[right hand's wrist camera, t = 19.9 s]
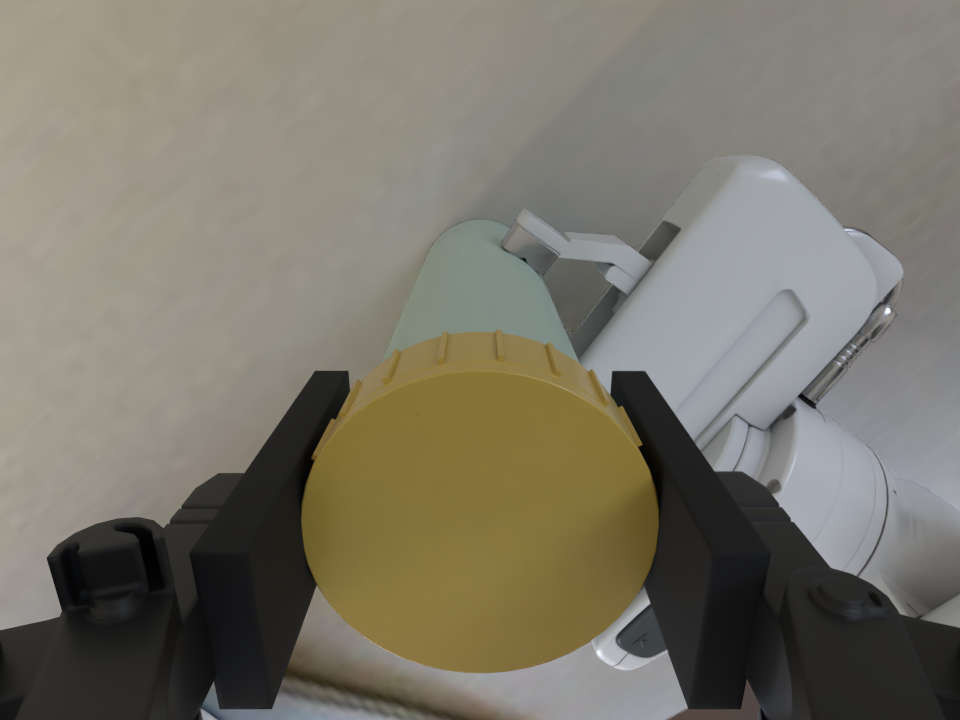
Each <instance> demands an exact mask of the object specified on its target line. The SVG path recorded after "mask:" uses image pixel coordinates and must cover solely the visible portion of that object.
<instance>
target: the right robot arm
mask: <svg viewBox="0 0 960 720" xmlns="http://www.w3.org/2000/svg"><path fill="white" fill-rule="evenodd" d="M349 392H350V386H349V373H348V371H315V372H314V374H313V375H312V376H311V378H310V379H309V381H308V382H307V384H306V385H305V387H304V388H303V389H302V391H301V392H300V394H299V395H298V397H297V398H296V400H295V401H294V402H293V404H292V405H291V407H290V408H289V410H288V411H287V413H286V414H285V415H284V417H283V418H282V420H281V421H280V423H279V424H278V426H277V427H276V428H275V430H274V431H273V433H272V434H271V436H270V437H269V439H268V440H267V441H266V443H265V444H264V446H263V447H262V449H261V450H260V452H259V453H258V454H257V456H256V457H255V459H254V460H253V462H252V463H251V465H250V466H249V467H248V469H247V470H246V472H245V473H218V474H217V475H215V476H214V477H212V478H211V479H209V480H208V481H206V482H205V483H203V484H201V485H200V486H198V487H197V488H195V490H194V491H193V492H192V493H191V495H190V496H189V497H188V498H187V500H186V501H185V502H184V503H183V505H182V508H181V509H179V510H178V511H177V512H176V513H175V515H174V516H173V517H172V518H171V520H170V524H167V525H166V526H165V527H164V528H163V527H161V526H160V525H159V524H158V523H156V522H155V521H154V520H149V519H144V518H139V517H135V518H119V519H114V520H110V521H106V522H102V523H98V524H95V525H93V526H90V527H88V528H86V529H83V530H81V531H79V532H76V533H75V534H73V535H72V536H70V537H69V538H67V539H66V540H64V541H63V542H61V543H60V544H58V545H57V546H56V547H55V549H54V550H53V551H52V552H51V553H50V554H49V556H48V557H47V561H48V564H49V567H50V571H51V574H52V578H53V581H54V585H55V588H56V591H57V595H58V598H59V602H60V605H61V609H62V613H61V615H60V617H57V618H54V619H50V620H46V621H42V622H37V623H32V624H28V625H23V626H19V627H14V628H9V629H5V630H0V720H203V718H202V713H201V706H202V704H203V702H204V700H205V698H206V696H207V694H208V692H209V689H210V687H211V685H212V683H213V681H214V683H215V688H216V693H217V698H218V703H219V708H220V709H272V707H273V704H274V702H275V699H276V696H277V693H278V690H279V688H280V685H281V682H282V679H283V677H284V674H285V671H286V668H287V666H288V663H289V660H290V657H291V655H292V652H293V649H294V646H295V643H296V641H297V638H298V635H299V632H300V630H301V627H302V624H303V621H304V619H305V616H306V613H307V610H308V607H309V605H310V602H311V599H312V596H313V594H314V591H315V588H316V585H317V584H316V582H315V580H314V578H313V575H312V573H311V570H310V568H309V566H308V563H307V559H306V555H305V551H304V543H303V535H302V526H301V504H302V499H303V494H304V489H305V485H306V482H307V479H308V476H309V474H310V471H311V469H312V466H313V464H314V462H315V460H313V459H311V458H312V456H313V453H314V451H315V450H316V448H317V446H318V444H319V442H320V440H321V438H322V436H323V434H324V432H325V430H326V428H327V427H328V425H329V423H330V421H331V419H334V420H336V418H337V416H338V414H339V412H340V410H341V408H342V406H343V404H344V402H345V400H346V398H347V396H348V394H349ZM610 396H611V397H612V398H613V400H614V401H615V403H616V405H617V407H618V408H619V407H621V406H623V408H624V410H625V412H626V414H627V416H628V418H629V419H630V421H631V423H632V425H633V427H634V429H635V431H636V433H637V435H638V437H639V439H640V441H641V443H642V445H641V446H639V447H638V448H639V450H640V452H641V454H642V456H643V458H644V460H645V462H646V464H647V466H648V468H649V470H650V473H651V476H652V479H653V482H654V485H655V488H656V493H657V499H658V504H659V530H658V538H657V547H656V553H655V556H654V560H653V563H652V566H651V569H650V571H649V573H648V576H647V578H646V580H645V582H644V587H645V590H646V593H647V595H648V598H649V601H650V604H651V606H652V609H653V612H654V615H655V617H656V620H657V623H658V626H659V629H660V631H661V634H662V637H663V640H664V642H665V645H666V648H667V651H668V653H669V656H670V659H671V662H672V665H673V667H674V670H675V673H676V676H677V678H678V681H679V684H680V687H681V689H682V692H683V695H684V698H685V700H686V703H687V706H688V709H741V705H742V700H743V695H744V690H745V685H746V680H747V679H748V681H749V683H750V686H751V687H752V690H753V692H754V694H755V696H756V698H757V700H758V702H759V704H760V708H759V713H758V718H757V720H960V628H959V627H954V626H949V625H945V624H940V623H936V622H931V621H926V620H922V619H917V618H913V617H909V616H905V615H902V614H899V612H898V610H897V608H896V607H895V606H894V604H893V603H892V601H891V600H890V599H889V597H888V596H887V595H886V594H884V593H883V592H882V591H880V590H879V589H878V588H876V587H875V586H874V585H873V584H871V583H869V582H867V581H865V580H863V579H861V578H859V577H857V576H855V575H853V574H851V573H847V572H844V571H840V570H837V569H833V568H831V567H830V566H829V565H828V564H827V562H826V561H825V560H824V559H823V557H822V556H821V555H820V554H819V552H818V551H817V550H816V549H815V548H814V546H813V545H812V544H811V543H810V541H809V540H808V539H807V538H806V536H805V535H804V534H803V533H802V531H801V530H800V529H799V528H798V526H797V525H796V524H795V523H794V522H791V518H790V517H789V515H788V514H787V513H786V512H785V510H784V509H783V508H782V507H779V503H778V502H777V500H776V499H775V498H774V497H773V495H772V494H771V493H770V492H769V490H768V489H767V488H766V487H765V486H764V485H762V484H761V483H759V482H758V481H756V480H755V479H753V478H752V477H750V476H748V475H747V474H745V473H744V472H742V471H714V470H713V468H712V467H711V465H710V464H709V463H708V461H707V460H706V458H705V457H704V455H703V454H702V452H701V451H700V450H699V448H698V447H697V445H696V444H695V442H694V441H693V439H692V438H691V437H690V435H689V434H688V432H687V431H686V429H685V428H684V426H683V425H682V424H681V422H680V421H679V419H678V418H677V416H676V415H675V413H674V412H673V411H672V409H671V408H670V406H669V405H668V403H667V402H666V400H665V399H664V398H663V396H662V395H661V393H660V392H659V390H658V389H657V387H656V386H655V385H654V383H653V382H652V380H651V379H650V377H649V376H648V374H647V373H646V371H612V379H611V391H610Z"/></svg>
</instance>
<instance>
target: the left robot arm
mask: <svg viewBox="0 0 960 720" xmlns="http://www.w3.org/2000/svg"><path fill="white" fill-rule="evenodd" d="M501 243H502V246H503V247H504V248H505V249H506V250H507V251H508V252H510V253H511V254H512V255H514V256H516V257H518V258H525V259H526V262H527V264H528V265H529V266H530V267H531V268H533V269H534V270H535V271H537V272H538V273H540V274H541V275H544V273H545V272H546V271H547V270H548V268H549V267H550V266H551V264H552V263H553V262H554V260H555V259H556V258H557V257H558V258H562V259H573V260H584V261H595V268H596V269H597V270H598V271H599V272H600V273H601V274H602V276H603V277H604V278H605V279H606V280H607V281H609V282H610V283H612V284H611V285H610V286H609V288H608V289H607V290H606V291H605V293H604V294H603V295H602V297H601V298H600V299H599V301H598V302H597V303H596V304H595V306H594V307H593V308H592V310H591V311H590V312H589V313H588V315H587V316H586V317H585V319H584V320H583V321H582V323H581V324H580V325H579V326H578V328H577V329H576V330H575V332H574V333H573V334H572V335H571V337H570V338H569V340H570V342H571V345H572V347H573V349H574V352H575V354H576V356H577V359H578V361H579V363H580V365H582V366H583V367H584V368H585V369H587V370H588V371H590V370H591V369H593V370H594V371H595V372H596V375H597V377H598V379H599V381H600V383H601V384H602V385H603V386H604V387H605V389H606V390H607V391H608V393H609V394H610V391H611V379H612V371H646V373H647V374H648V376H649V377H650V379H651V380H652V382H653V383H654V385H655V386H656V387H657V389H658V390H659V392H660V393H661V395H662V396H663V398H664V399H665V400H666V402H667V403H668V405H669V406H670V408H671V409H672V411H673V412H674V413H675V415H676V416H677V418H678V419H679V421H680V422H681V424H682V425H683V426H684V428H685V429H686V431H687V432H688V434H689V435H690V437H691V438H692V439H693V441H694V442H695V444H696V445H697V447H698V448H699V450H700V451H701V452H702V454H703V455H704V457H705V458H706V460H707V461H708V463H709V464H710V465H711V467H712V468H713V470H714V471H742V472H744V473H745V474H747V475H748V476H750V477H752V478H753V479H755V480H756V481H758V482H759V483H761V484H762V485H764V486H765V487H766V488H767V489H768V490H769V492H770V493H771V494H772V495H773V497H774V498H775V499H776V500H777V502H778V503H779V507H782V508H783V509H784V510H785V512H786V513H787V514H788V515H789V517H790V518H791V522H794V523H795V524H796V525H797V526H798V528H799V529H800V530H801V531H802V533H803V534H804V535H805V536H806V538H807V539H808V540H809V541H810V543H811V544H812V545H813V546H814V548H815V549H816V550H817V551H818V552H819V554H820V555H821V556H822V557H823V559H824V560H825V561H826V562H827V564H828V565H829V566H830V567H831V568H833V569H837V570H840V571H844V572H847V573H851V574H853V575H855V576H857V577H859V578H861V579H863V580H865V581H867V582H869V583H871V584H873V585H874V586H875V587H876V588H878V589H879V590H880V591H882V592H883V593H884V594H886V595H887V596H888V597H889V599H890V600H891V601H892V603H893V604H894V606H895V607H896V608H897V610H898V612H899V614H902V615H905V616H909V617H913V618H917V619H922V620H926V621H931V622H936V623H940V624H945V625H949V626H954V627H959V628H960V511H958V510H957V509H956V508H954V507H953V506H952V505H951V504H949V503H948V502H946V501H945V500H944V499H942V498H941V497H940V496H938V495H937V494H935V493H934V492H932V491H930V490H929V489H927V488H925V487H923V486H921V485H919V484H917V483H915V482H912V481H910V480H907V479H904V478H900V477H897V476H894V475H892V473H891V472H890V470H889V468H888V467H887V465H886V464H885V463H884V462H883V460H882V459H881V458H880V457H879V456H878V454H877V453H876V452H875V451H873V450H872V449H871V448H870V447H869V446H868V445H866V444H865V443H864V442H863V441H861V440H860V439H858V438H857V437H855V436H854V435H853V434H851V433H850V432H849V431H847V430H846V429H844V428H843V427H842V426H840V425H839V424H837V423H836V422H835V421H833V420H832V419H830V418H829V417H828V416H826V415H825V414H823V413H822V412H820V411H819V410H818V409H817V407H816V406H815V405H816V404H817V403H818V402H819V401H820V400H821V399H822V398H823V397H824V396H825V395H826V394H827V393H828V392H829V391H830V390H831V389H832V388H833V387H834V385H835V384H836V383H837V382H838V381H839V380H840V379H841V378H842V377H843V376H844V375H845V373H846V372H847V371H848V368H850V367H851V365H852V362H854V361H855V360H856V359H857V356H859V355H860V354H861V353H862V351H864V350H865V349H866V348H867V347H868V346H869V345H870V344H871V343H874V342H875V341H877V340H878V339H879V338H880V337H881V336H882V335H883V334H884V333H885V332H886V331H887V330H888V329H889V327H890V326H891V324H892V323H893V321H894V320H895V318H896V316H897V313H896V312H895V311H894V310H893V309H892V308H893V307H894V305H895V303H896V302H897V300H898V298H899V296H900V292H901V289H902V284H903V274H904V270H903V267H902V265H901V263H900V262H899V260H898V259H897V258H896V257H895V256H894V254H893V253H892V252H890V251H889V250H888V249H887V248H885V247H884V246H883V245H882V244H881V243H879V242H878V241H877V240H876V239H874V238H873V237H872V236H871V235H869V234H868V233H867V232H865V231H863V230H861V229H858V228H855V227H848V226H841V224H840V223H839V222H838V221H837V220H836V219H835V218H834V216H833V215H832V214H831V213H830V212H829V211H828V210H827V209H826V208H825V207H824V205H823V204H822V203H821V202H820V201H819V200H818V199H817V198H816V197H815V196H814V195H813V194H812V193H811V192H810V191H809V190H808V189H807V188H806V187H805V186H804V185H803V184H802V183H801V182H800V181H798V180H797V179H796V178H795V177H794V176H793V175H792V174H791V173H790V172H788V171H787V170H786V169H785V168H784V167H782V166H781V165H780V164H778V163H777V162H775V161H773V160H770V159H768V158H765V157H761V156H755V155H734V156H726V157H720V158H714V159H711V160H709V161H707V162H706V163H705V164H704V165H703V166H702V167H701V168H700V170H699V171H698V172H697V174H696V175H695V176H694V177H693V179H692V180H691V181H690V183H689V184H688V185H687V187H686V188H685V189H684V190H683V192H682V193H681V194H680V196H679V197H678V198H677V200H676V201H675V202H674V203H673V205H672V206H671V207H670V209H669V210H668V211H667V212H666V214H665V215H664V216H663V218H662V219H661V220H660V222H659V223H658V224H657V225H656V227H655V228H654V229H653V231H652V232H651V233H650V234H649V236H648V237H647V238H646V240H645V241H644V242H643V244H642V245H641V246H640V247H639V249H638V250H637V251H636V250H634V249H633V248H632V247H630V246H629V245H627V244H626V243H625V242H623V241H622V240H620V239H619V238H618V237H616V236H615V235H604V234H590V233H575V232H563V234H561V233H559V232H558V231H556V230H555V229H554V228H552V227H551V226H549V225H548V224H547V223H545V222H544V221H542V220H541V219H540V218H538V217H537V216H535V215H534V214H533V213H531V212H529V211H528V210H526V209H524V208H523V210H522V211H521V213H520V214H519V216H518V217H517V218H516V220H515V221H514V223H513V224H512V226H511V227H510V229H509V230H508V232H507V233H506V235H505V236H504V238H503V239H502V241H501ZM884 297H885V298H884ZM883 298H884V300H883V302H880V301H881V300H882V299H883ZM591 642H592V644H593V647H594V650H595V652H596V654H597V656H598V657H599V658H600V659H601V660H602V661H604V662H605V663H607V664H608V665H610V666H612V667H614V668H616V669H619V670H624V671H629V670H634V669H637V668H640V667H642V666H644V665H646V664H648V663H650V662H651V661H653V660H655V659H657V658H659V657H660V656H662V655H664V654H666V653H668V651H667V648H666V645H665V642H664V640H663V637H662V634H661V631H660V629H659V626H658V623H657V620H656V617H655V615H654V612H653V609H652V606H651V604H650V601H649V598H648V595H647V593H646V590H645V587H644V584H643V586H642V588H641V589H640V591H639V592H638V594H637V595H636V597H635V599H634V600H633V602H632V603H631V604H630V605H629V607H628V608H627V609H626V610H625V611H624V612H623V614H622V615H621V616H620V617H619V618H618V619H617V620H616V621H615V622H614V623H613V624H612V625H610V626H609V627H608V628H607V629H606V630H605V631H604V632H602V633H601V634H600V635H598V636H597V637H595V638H594V639H593V640H591ZM201 713H202V718H203V720H217V719H216V718H215V717H213V716H212V715H211V714H209V713H208V712H206V711H205V710H203V709H201Z"/></svg>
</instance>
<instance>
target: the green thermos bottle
mask: <svg viewBox="0 0 960 720" xmlns="http://www.w3.org/2000/svg"><path fill="white" fill-rule="evenodd" d="M509 229H510V228H509V227H508V226H506V225H504V224H501V223H498V222H495V221H491V220H482V219H478V220H469V221H465V222H462V223H459V224H456V225H455V226H453V227H451V228H449V229H448V230H446V231H445V232H444V233H443V234H442V235H440V236H439V237H438V239H437V240H436V241H435V242H434V244H433V245H432V247H431V248H430V250H429V253H428V255H427V257H426V259H425V262H424V264H423V266H422V269H421V271H420V273H419V276H418V278H417V280H416V283H415V285H414V287H413V290H412V292H411V294H410V297H409V299H408V301H407V304H406V306H405V308H404V310H403V313H402V315H401V317H400V320H399V322H398V324H397V327H396V329H395V331H394V334H393V336H392V338H391V341H390V343H389V345H388V348H387V350H386V352H385V355H384V357H383V359H382V361H381V363H383V362H384V361H385V360H387V359H388V358H390V357H391V355H392V353H393V351H394V350H396V349H398V350H399V351H402V350H404V349H406V348H408V347H410V346H412V345H415V344H418V343H420V342H423V341H425V340H428V339H432V338H436V337H440V336H442V332H448V334H455V333H464V332H496V329H499V330H502V333H504V334H511V335H517V336H521V337H524V338H528V339H531V340H535V341H538V342H540V343H543V344H545V345H546V344H547V343H548V342H550V343H552V344H553V346H554V348H555V349H557V350H558V351H560V352H562V353H564V354H565V355H567V356H569V357H570V358H572V359H574V360H575V361H576V362H578V363H579V361H578V359H577V356H576V354H575V352H574V349H573V347H572V345H571V342H570V340H569V338H568V335H567V333H566V331H565V329H564V326H563V324H562V322H561V319H560V317H559V315H558V312H557V310H556V308H555V305H554V303H553V301H552V298H551V296H550V294H549V291H548V289H547V287H546V285H545V282H544V280H543V278H542V275H541V274H540V273H538V272H537V271H535V270H534V269H533V268H531V267H530V266H529V265H528V264H527V262H526V259H525V258H518V257H516V256H514V255H512V254H511V253H510V252H508V251H507V250H506V249H505V248H504V247H503V246H502V243H501V241H502V239H503V238H504V236H505V235H506V233H507V232H508V230H509ZM579 364H580V363H579Z"/></svg>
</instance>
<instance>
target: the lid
mask: <svg viewBox="0 0 960 720" xmlns="http://www.w3.org/2000/svg"><path fill="white" fill-rule="evenodd" d="M641 445H642V443H641V441H640V439H639V437H638V435H637V433H636V431H635V429H634V427H633V425H632V423H631V421H630V419H629V418H628V416H627V414H626V412H625V410H624V408H623V406H621V407H619V408H618V407H617V405H616V403H615V401H614V400H613V398H612V397H611V396H610V394H609V393H608V391H607V390H606V389H605V387H604V386H603V385H602V384H601V383H600V381H599V379H598V377H597V375H596V372H595V371H594V370H593V369H591V370H590V371H588V370H587V369H585V368H584V367H583V366H582V365H580V364H579V363H578V362H576V361H575V360H574V359H572V358H570V357H569V356H567V355H565V354H564V353H562V352H560V351H558V350H557V349H555V348H554V346H553V344H552V343H550V342H548V343H547V344H546V345H545V344H543V343H540V342H538V341H535V340H531V339H528V338H524V337H521V336H517V335H511V334H504V333H502V330H499V329H496V332H464V333H455V334H448V332H442V336H440V337H436V338H432V339H428V340H425V341H423V342H420V343H418V344H415V345H412V346H410V347H408V348H406V349H404V350H402V351H399V350H398V349H396V350H394V351H393V353H392V355H391V357H390V358H388V359H387V360H385V361H384V362H383V363H381V364H380V365H378V366H377V367H376V368H374V369H373V370H372V371H371V372H370V373H369V374H368V375H367V376H366V377H365V378H364V379H363V380H362V381H359V380H358V379H357V380H356V381H355V383H354V384H353V386H352V388H351V390H350V392H349V394H348V396H347V398H346V400H345V402H344V404H343V406H342V408H341V410H340V412H339V414H338V416H337V418H336V420H334V419H331V421H330V423H329V425H328V427H327V428H326V430H325V432H324V434H323V436H322V438H321V440H320V442H319V444H318V446H317V448H316V450H315V451H314V453H313V456H312V458H311V459H313V460H315V462H314V464H313V466H312V469H311V471H310V474H309V476H308V479H307V482H306V485H305V489H304V494H303V499H302V504H301V526H302V535H303V543H304V551H305V555H306V559H307V563H308V566H309V568H310V570H311V573H312V575H313V578H314V580H315V582H316V584H317V585H318V587H319V589H320V590H321V592H322V594H323V595H324V597H325V599H326V600H327V601H328V602H329V604H330V605H331V606H332V607H333V609H334V610H335V611H336V612H337V614H338V615H339V616H340V617H341V618H342V619H343V620H344V621H345V622H347V623H348V624H349V625H350V626H351V627H352V628H353V629H354V630H355V631H357V632H358V633H359V634H361V635H362V636H363V637H365V638H366V639H367V640H369V641H370V642H372V643H374V644H375V645H377V646H379V647H381V648H382V649H384V650H386V651H388V652H390V653H392V654H394V655H397V656H399V657H401V658H403V659H405V660H409V661H412V662H415V663H418V664H421V665H424V666H428V667H432V668H437V669H441V670H446V671H455V672H464V673H495V672H506V671H513V670H518V669H524V668H529V667H533V666H536V665H539V664H543V663H546V662H549V661H552V660H554V659H557V658H559V657H561V656H564V655H566V654H569V653H571V652H572V651H574V650H576V649H578V648H580V647H581V646H583V645H585V644H587V643H588V642H590V641H591V640H593V639H594V638H595V637H597V636H598V635H600V634H601V633H602V632H604V631H605V630H606V629H607V628H608V627H609V626H610V625H612V624H613V623H614V622H615V621H616V620H617V619H618V618H619V617H620V616H621V615H622V614H623V612H624V611H625V610H626V609H627V608H628V607H629V605H630V604H631V603H632V602H633V600H634V599H635V597H636V595H637V594H638V592H639V591H640V589H641V588H642V586H643V584H644V582H645V580H646V578H647V576H648V573H649V571H650V569H651V566H652V563H653V560H654V556H655V553H656V547H657V538H658V530H659V504H658V499H657V493H656V488H655V485H654V482H653V479H652V476H651V473H650V470H649V468H648V466H647V464H646V462H645V460H644V458H643V456H642V454H641V452H640V450H639V448H638V447H639V446H641Z"/></svg>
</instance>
